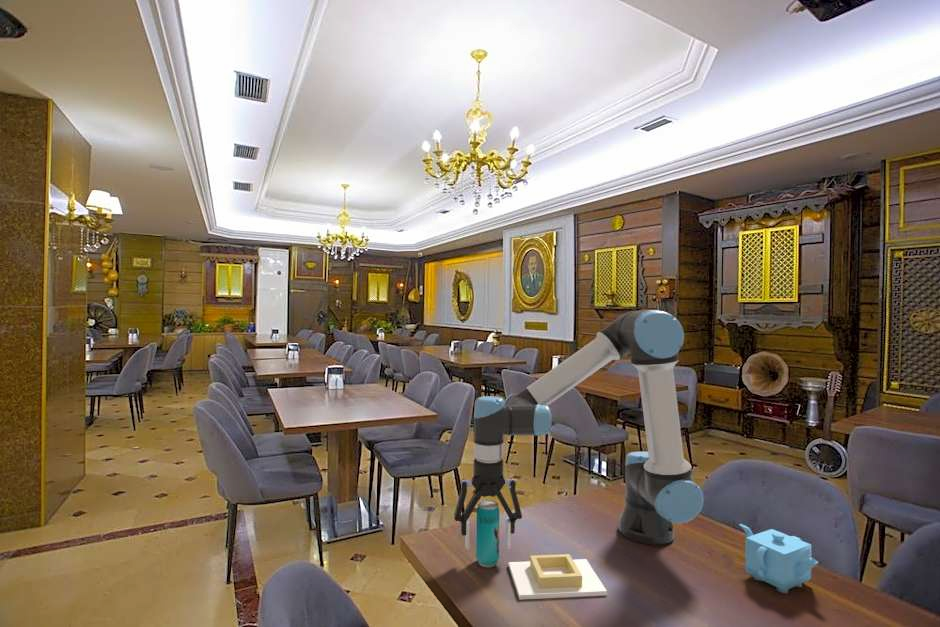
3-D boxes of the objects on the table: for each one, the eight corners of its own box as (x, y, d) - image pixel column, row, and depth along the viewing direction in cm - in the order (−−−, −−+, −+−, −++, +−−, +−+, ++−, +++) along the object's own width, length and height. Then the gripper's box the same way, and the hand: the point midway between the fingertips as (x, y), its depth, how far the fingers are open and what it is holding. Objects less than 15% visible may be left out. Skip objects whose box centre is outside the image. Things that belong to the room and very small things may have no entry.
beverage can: (497, 570, 119) (497, 509, 119) (474, 567, 120) (474, 507, 120) (500, 558, 124) (500, 500, 124) (478, 556, 125) (479, 498, 125)
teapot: (796, 609, 104) (797, 557, 104) (719, 569, 120) (720, 524, 120) (835, 590, 111) (836, 541, 111) (758, 555, 127) (759, 512, 127)
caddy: (586, 562, 122) (586, 549, 122) (606, 595, 108) (607, 579, 108) (508, 566, 120) (508, 552, 120) (519, 599, 107) (519, 583, 107)
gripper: (528, 453, 127) (527, 537, 127) (443, 455, 125) (443, 541, 125) (535, 462, 119) (534, 552, 119) (444, 464, 117) (444, 555, 117)
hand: (487, 546), depth 122 cm, fingers open, 10 cm apart
